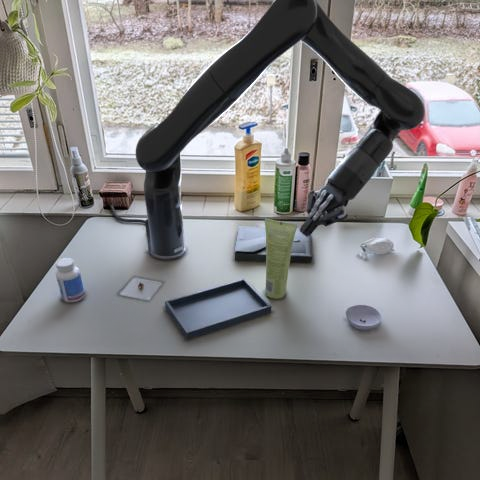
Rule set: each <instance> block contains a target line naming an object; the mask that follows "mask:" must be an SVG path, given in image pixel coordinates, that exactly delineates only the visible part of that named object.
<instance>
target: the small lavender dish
mask: <svg viewBox="0 0 480 480" xmlns="http://www.w3.org/2000/svg"><path fill="white" fill-rule="evenodd" d="M345 319H346V321H347V322H348V324H349V325H350V326H352V327H353V328H356V329H359V330H363V331H364V330H371V329H372V330H373V329H375V328H377V327H379V326H380V324H381V323H382V319H383V318H382V314H381V313H380V312H379V310H377V308H374V307H373V306H370V305H367V304H357V305H356V304H355V305H353V306H350V307H348V308H347V309H346V311H345Z"/></svg>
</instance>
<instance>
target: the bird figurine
mask: <svg viewBox="0 0 480 480" xmlns="http://www.w3.org/2000/svg"><path fill="white" fill-rule="evenodd" d="M394 246H395V243H394V242H393V241H392V240H391V239H389V238H385V237H374V238H370V239H368V240H366V241H364V242H362V243H361V244H360V248H361V250H362V251H361V252H359V253H358V254H359V255H358V257H360V259H362V257H363V259H365V260H366V261H367V258H368V255H386V254H387V253H389V252H395V251H396V249H394Z"/></svg>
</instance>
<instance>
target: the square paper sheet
mask: <svg viewBox="0 0 480 480" xmlns="http://www.w3.org/2000/svg"><path fill="white" fill-rule="evenodd" d="M162 285H163V282H161V281H155V280H150V279H145V278H139V277H133V278H131V280H130V281H129V283H128V284H126V286H125V287H124V288H123V289H122V291H120V292H119V294H118V295H120V296H124V297H129V298H135V299H139V300H145V301H150V300H151V298H152V297H153V296H154V295H155V294H156V292H157V291H158V289H159V288H161V286H162Z"/></svg>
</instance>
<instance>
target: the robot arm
mask: <svg viewBox="0 0 480 480" xmlns="http://www.w3.org/2000/svg"><path fill="white" fill-rule="evenodd" d="M299 42H301V43H303V44H304V45H306V46H307V47H309V48H310V49H311V50H312V51H314V53H316V54H317V56H319V57H320V59H322V60H323V62H325V64H326V65H327V66H328V67H329V68H330V69H331V70H332V72H333V73H334V74H335V75H336V76H337V77H338V78H339V79H340V81H341V82H342V83H343V84H344V85H345V87H347V88H348V89H349V90H350V91H351V92H352V93H353V94H354V95H356V96H357V97H358V98H359V99H360V100H361V101H362V102H363V103H365V104H366V105H368V106H371V107H375V108H377V109H378V110H379V112H378V113H377V114H376V116H375V118H374V119H373V121H372V123H371V124H370V126H369V129H368V130H367V131H366V133H365V134H364V135H363V136H362V137H361V138H360V140H359V141H358V142H357V144H355V146H354V147H353V148H352V149H351V150H350V151H349V152H348V153H347V154H346V155H345V156H344V157H343V159H342V160H341V161H340V163H339V164H338V165H337V166H336V167H335V168H334V170H333V171H332V172H331V173H330V174H329V176H328V177H327V183H326V184H325V185H323V186H322V187H321V188H320V190H316V191H315V190H314V189H311V190H309V192H308V199H307V203H306V208H305V212H306V213H307V216H308V217H307V218H306V220H305V221H304V222H303V223H302V224H301V226H300V227H299V228H300V232H301V233H302V234H304V235H305V236H306V237H308V236H309V235H311V236H312V234H313V233H314V232H315V230H317V228H318V227H319V226H324V227H329V226H331V225H333V224H335V223H338V222H340V221H343V220H345V219H347V218H348V217H349V215H348V213H347V211H346V207H347V206H348V204H349V201H353V200H354V199H355V198H356V196H357V195H358V194H359V193H360V191H362V189H363V188H364V187H365V186H366V185H367V183H368V182H369V181H370V180H371V179H372V177H373V176H374V174H375V173H376V171H377V170H378V169H379V167H380V165H382V164H383V162H384V161H385V160H386V159H387V158H388V157H389V155H390V154H391V152H392V151H393V149H394V143H393V142H394V141H395V139H396V138H397V136H399V134H400V133H401V132H402V131H409V130H414V129H415V128H417V127H419V126H420V124H422V122H423V121H424V118H425V115H426V108H425V104H424V102H423V101H422V99H421V98H420V97H419V95H418V94H417V93H415V92H414V91H413V90H411V89H410V88H409V87H407V86H406V85H404V84H403V83H401V82H400V81H398V80H396V79H394V78H392V77H391V76H390V75H389V74H388V73H387V72H386V71H385V70H384V68H382V67H381V66H380V65H379V64H378V63H377V62H376V61H375V60H374V59H373V58H372V57H370V55H368V54H367V52H365V51H363V50H362V49H361V48H360V46H358V45H357V44H356V43H355V42H353V41H352V40H351V39H350V38H349V37H348V36H347V35H346V34H345V33H344V32H343V31H341V30H340V28H339V27H338V26H337V25H336V24H335V23H334V22H333V21H332V20H331V18H330V17H329V16H328V15H327V14H326V12H325V11H324V9H323V8H322V6H321V5H320V4H319V2H318V1H317V0H273V1H272V2H271V4H270V5H269V7H268V8H267V10H266V11H265V13H264V14H263V15H262V16H261V17H260V18H259V20H258V21H257V22H256V23H255V25H254V26H253V27H252V28H251V29H250V31H249V32H248V33H247V34H245V35H244V37H243V38H242V39H240V40H239V41H237V42H236V43H235V44H233V45H232V46H231V47H229V48H228V49H226V50H225V51H224V52H223V53H221V54H220V55H219V56H218V57H216V58H215V59H214V60H213V61H212V62H211V63H210V64H209V65H208V66H207V67H206V68H205V69H204V70H203V72H202V73H200V74H199V76H198V77H197V78H196V79H195V80H194V82H192V84H191V85H190V87H188V89H186V92H185V93H184V94H183V95H182V96H181V98H180V99H179V101H178V103H176V105H175V107H174V108H173V109H172V111H171V112H170V113H169V114H168V116H166V117H165V118H164V119H163V120H162V121H161V122H159V123H158V124H155V125H153V126H150V127H149V128H148V129H147V130H146V131H145V132H144V133H143V134H142V135H141V137H139V139H138V141H137V143H136V146H135V160H136V162H137V164H138V165H139V167H140V168H141V169H142V170H144V171H145V174H144V181H143V192H144V193H143V194H144V201H145V210H146V217H147V218H146V219H138V218H123V217H121V216H119V215H118V214H117V212H116V210H115V207H114V204H113V205H110V204H109V206H110V210H111V212H112V214H113V216H114V218H115V219H117V220H118V221H120V222H125V223H142V224H144V225H145V234H146V241H147V242H146V243H147V250H148V253H150V254H151V256H153V257H154V258H156V259H158V260H162V261H163V260H164V261H167V260H169V261H170V260H176V259H178V258H181V257H183V256H184V254H185V253H186V245H185V230H184V215H183V204H182V191H181V184H182V158H181V157H182V154H181V153H182V152H183V151H184V150H185V148H186V147H187V146H188V145H189V144H190V143H191V141H193V140H194V139H195V138H197V136H199V135H200V134H201V133H202V132H204V131H205V130H206V129H207V128H209V127H210V126H211V125H212V124H214V123H215V122H216V121H217V120H218V119H219V118H221V116H223V115H224V114H225V113H226V112H228V111H229V109H230V108H231V107H233V106H234V104H236V102H238V101H239V100H240V99H241V98H242V97H243V96H244V95H245V94H246V93H247V91H249V90H250V89H251V87H252V86H253V85H254V84H256V82H257V80H258V79H259V78H260V77H261V75H263V73H264V72H265V71H266V70H267V69H268V68H269V67H270V66H271V65H272V64H273V63H274V62H275V61H276V60H277V59H279V58H280V57H282V56H283V55H284V54H285V53H286V52H288V51H289V50H290V49H292V47H294V46H295V45H297V44H298V43H299Z"/></svg>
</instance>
